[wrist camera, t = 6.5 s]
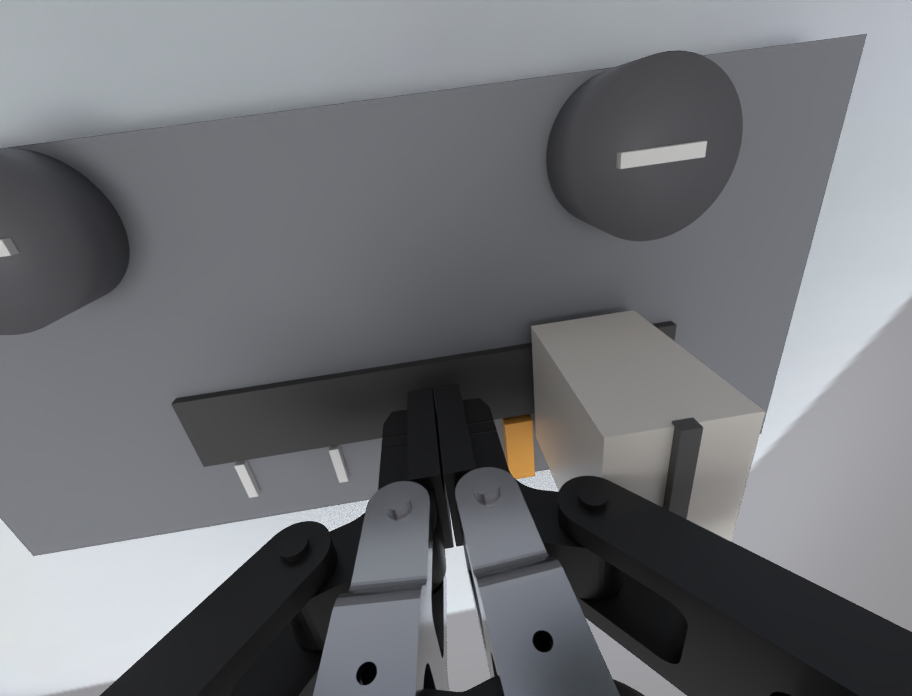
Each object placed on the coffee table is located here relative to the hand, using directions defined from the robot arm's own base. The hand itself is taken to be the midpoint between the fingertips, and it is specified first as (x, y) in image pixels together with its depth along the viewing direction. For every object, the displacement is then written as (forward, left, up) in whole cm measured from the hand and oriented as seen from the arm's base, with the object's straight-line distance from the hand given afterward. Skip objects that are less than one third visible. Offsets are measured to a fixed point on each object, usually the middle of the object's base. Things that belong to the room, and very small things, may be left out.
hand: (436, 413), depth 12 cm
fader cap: (0, +4, 0) cm, 5 cm away
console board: (-2, -2, -3) cm, 4 cm away
